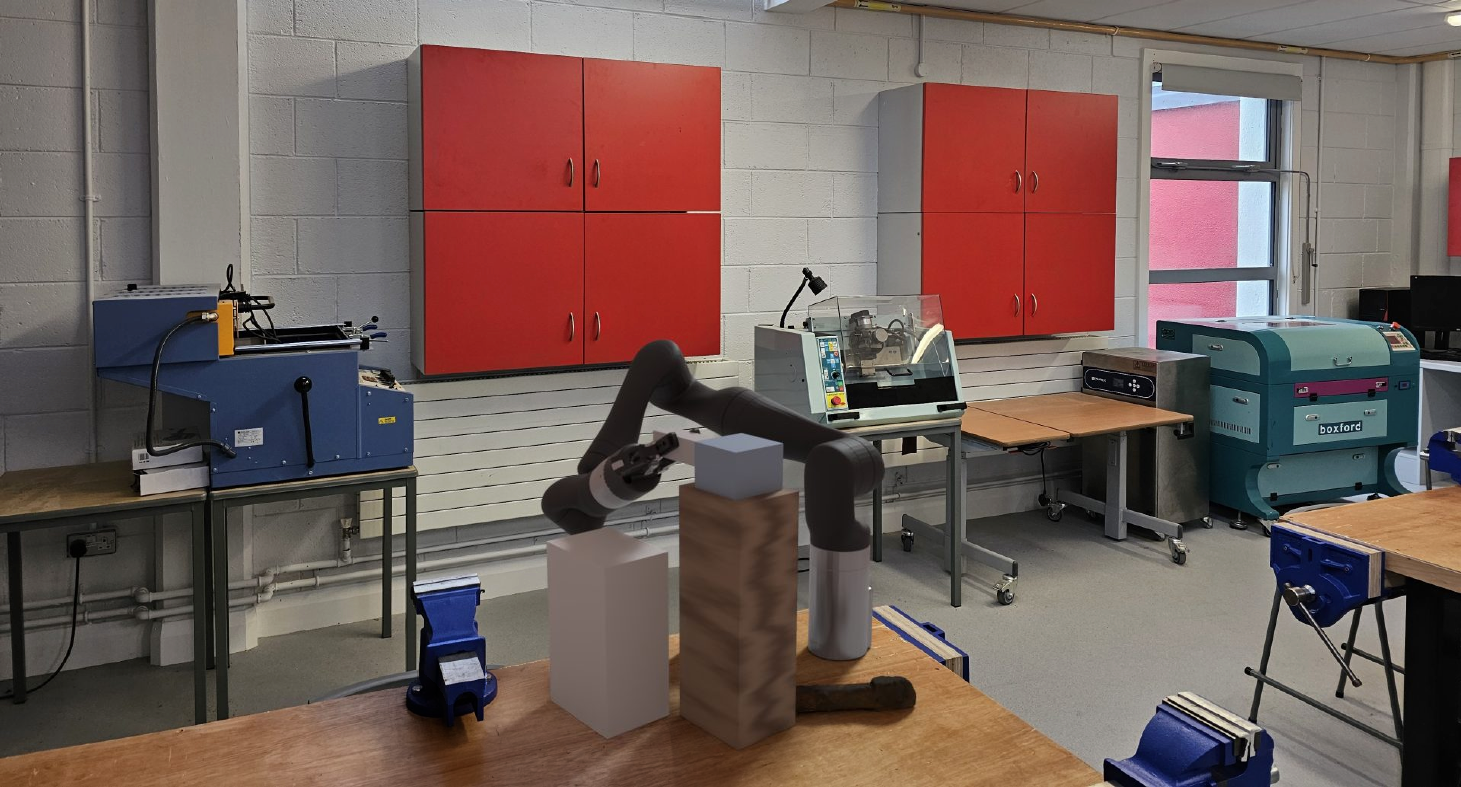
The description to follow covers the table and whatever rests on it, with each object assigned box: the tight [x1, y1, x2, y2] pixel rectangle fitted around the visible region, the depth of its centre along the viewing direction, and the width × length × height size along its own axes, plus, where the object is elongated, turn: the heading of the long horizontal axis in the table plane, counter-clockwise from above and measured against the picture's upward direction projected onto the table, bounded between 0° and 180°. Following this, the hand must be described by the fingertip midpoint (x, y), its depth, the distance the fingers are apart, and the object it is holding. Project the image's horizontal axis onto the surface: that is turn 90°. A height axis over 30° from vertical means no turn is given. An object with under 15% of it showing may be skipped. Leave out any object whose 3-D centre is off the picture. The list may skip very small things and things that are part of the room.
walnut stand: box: [678, 481, 800, 751], centre depth 133 cm, size 10×12×32 cm
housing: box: [652, 426, 784, 500], centre depth 134 cm, size 8×20×6 cm, turn 41°
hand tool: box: [795, 675, 917, 715], centre depth 138 cm, size 19×4×5 cm, turn 93°
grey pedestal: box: [545, 526, 670, 740], centre depth 137 cm, size 10×14×23 cm
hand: (687, 436), depth 137 cm, fingers closed on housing, 3 cm apart
